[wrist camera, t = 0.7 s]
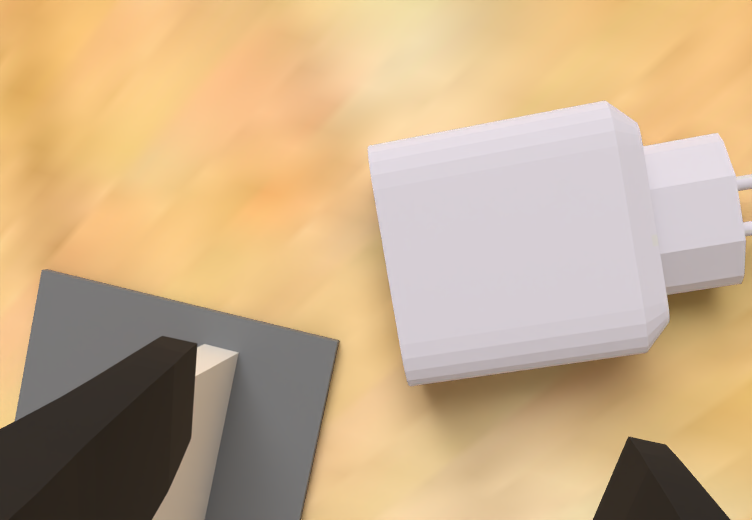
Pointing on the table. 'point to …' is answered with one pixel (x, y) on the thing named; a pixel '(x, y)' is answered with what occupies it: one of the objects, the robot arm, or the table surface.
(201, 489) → the tile
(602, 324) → the charger
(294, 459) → the mat
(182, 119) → the table surface
